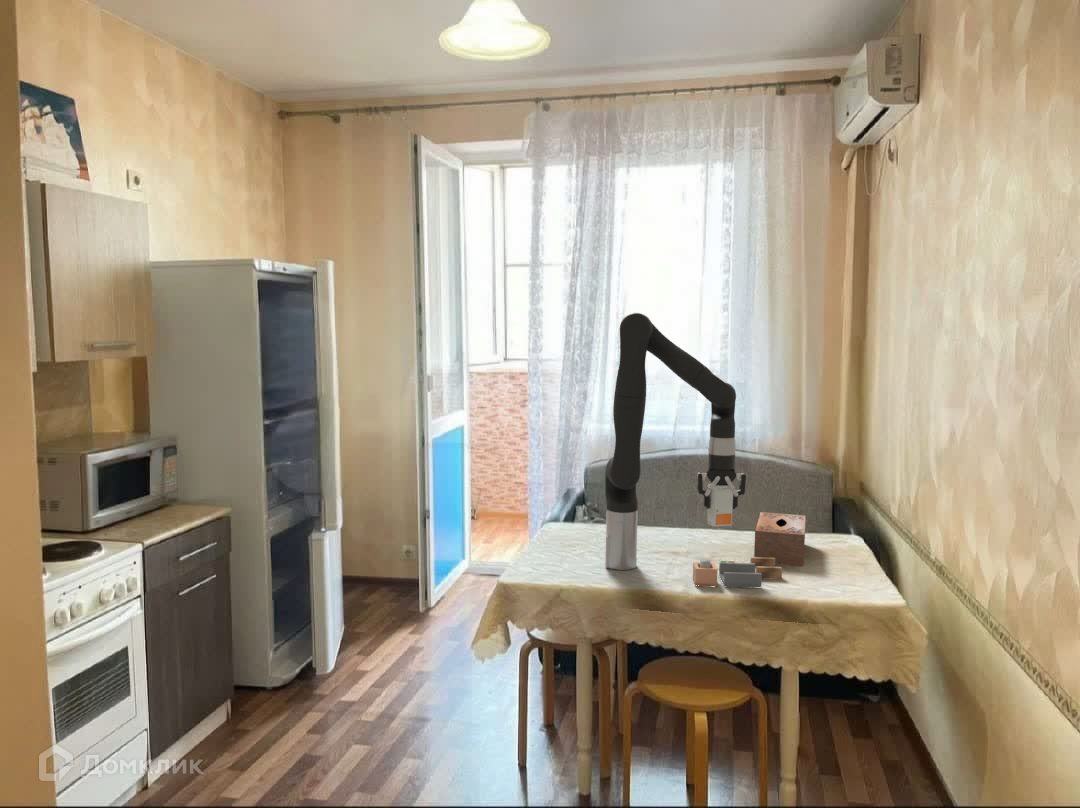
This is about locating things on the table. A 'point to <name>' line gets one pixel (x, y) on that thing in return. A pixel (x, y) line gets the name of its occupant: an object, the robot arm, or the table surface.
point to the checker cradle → (739, 574)
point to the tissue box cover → (781, 538)
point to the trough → (767, 567)
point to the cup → (705, 573)
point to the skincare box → (720, 506)
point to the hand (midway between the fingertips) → (720, 508)
